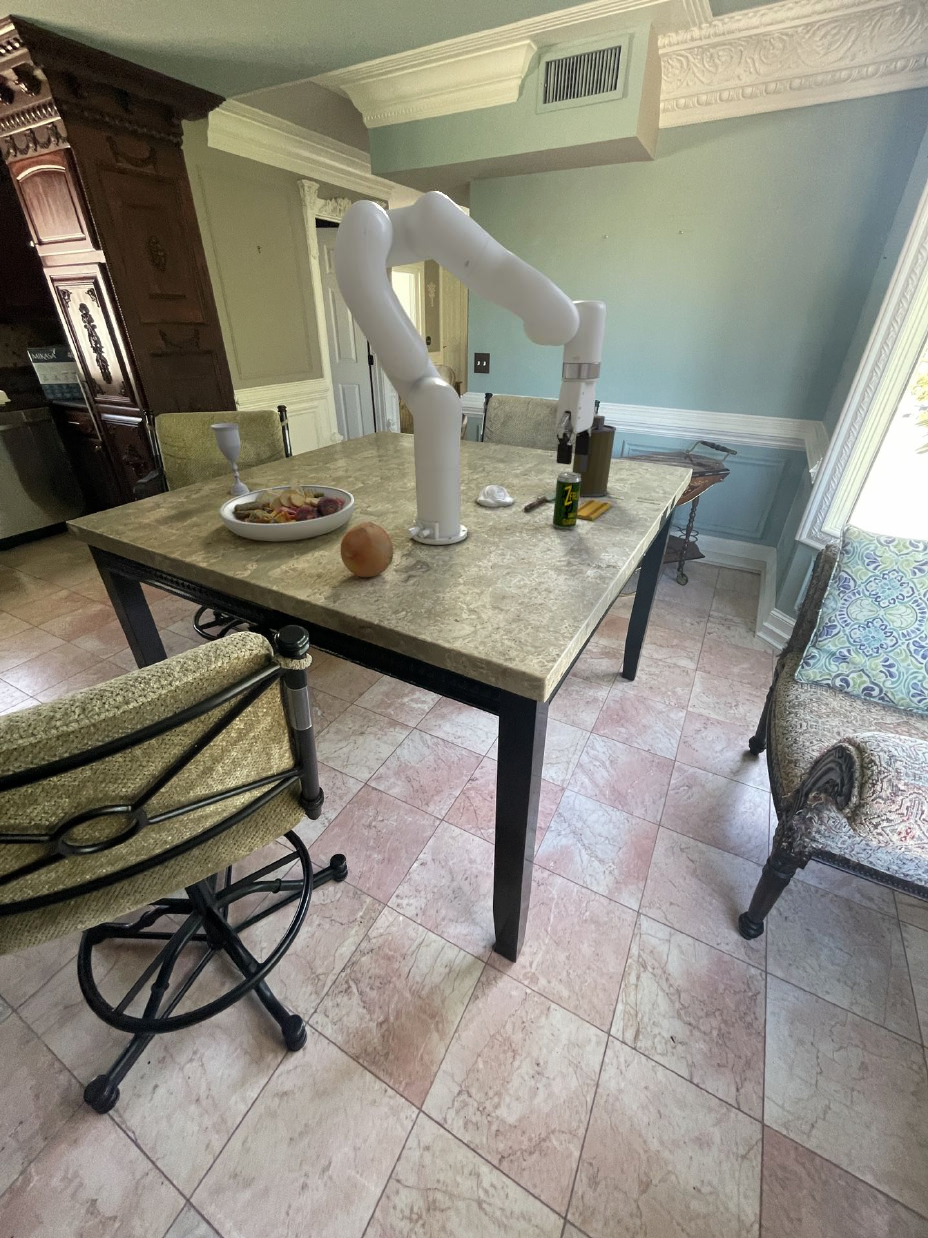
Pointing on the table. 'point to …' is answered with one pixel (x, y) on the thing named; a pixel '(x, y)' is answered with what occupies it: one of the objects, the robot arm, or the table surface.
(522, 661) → the table surface
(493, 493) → the rose
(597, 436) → the canister
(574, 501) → the beer can
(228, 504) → the bowl
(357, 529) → the onion
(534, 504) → the spatula
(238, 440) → the chalice
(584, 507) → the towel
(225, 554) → the table surface
